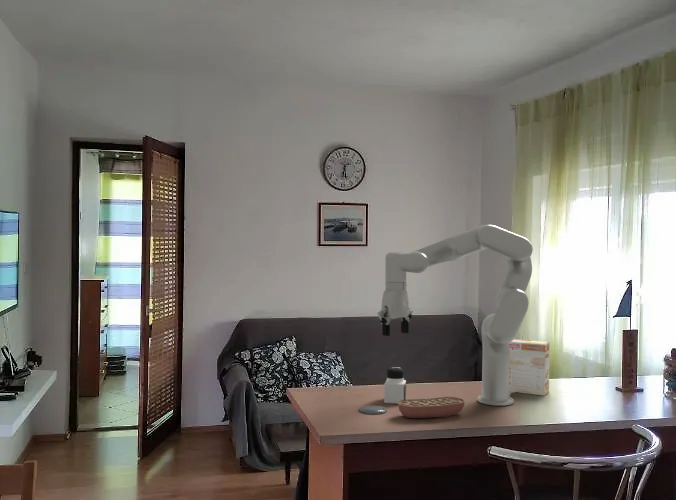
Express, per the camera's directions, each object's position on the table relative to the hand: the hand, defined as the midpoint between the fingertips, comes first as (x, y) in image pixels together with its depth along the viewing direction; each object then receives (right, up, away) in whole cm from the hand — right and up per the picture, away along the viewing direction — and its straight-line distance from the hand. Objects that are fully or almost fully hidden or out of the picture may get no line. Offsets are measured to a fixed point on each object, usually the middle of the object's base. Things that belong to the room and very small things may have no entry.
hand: (395, 334), depth 234 cm
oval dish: (+10, -25, -18) cm, 33 cm away
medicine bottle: (0, -25, +1) cm, 25 cm away
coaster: (-9, -25, -12) cm, 29 cm away
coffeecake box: (+52, -24, +16) cm, 59 cm away
